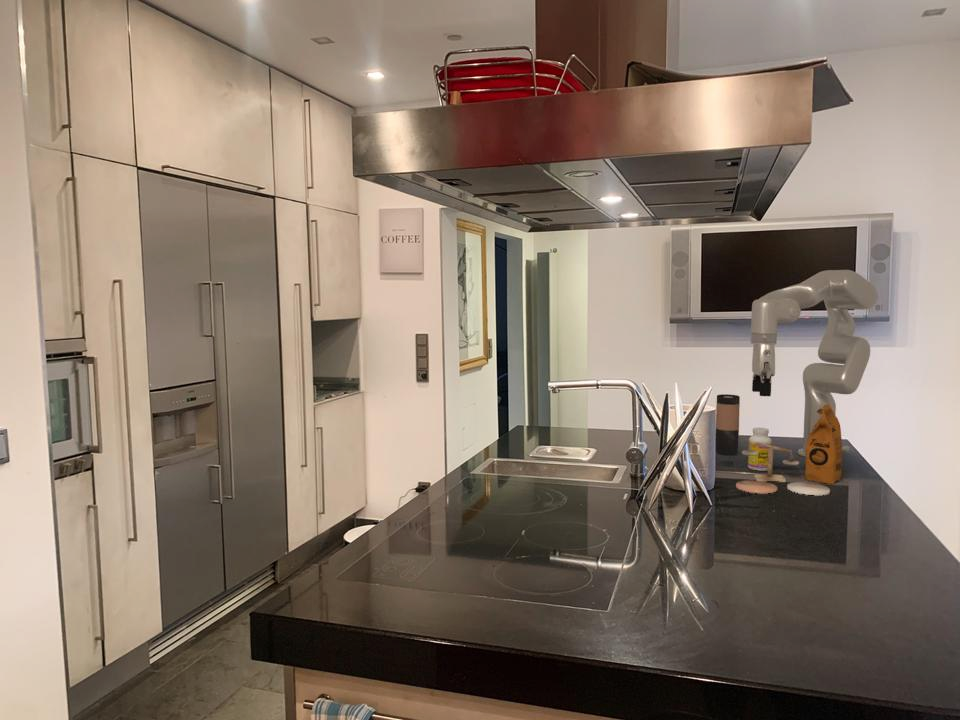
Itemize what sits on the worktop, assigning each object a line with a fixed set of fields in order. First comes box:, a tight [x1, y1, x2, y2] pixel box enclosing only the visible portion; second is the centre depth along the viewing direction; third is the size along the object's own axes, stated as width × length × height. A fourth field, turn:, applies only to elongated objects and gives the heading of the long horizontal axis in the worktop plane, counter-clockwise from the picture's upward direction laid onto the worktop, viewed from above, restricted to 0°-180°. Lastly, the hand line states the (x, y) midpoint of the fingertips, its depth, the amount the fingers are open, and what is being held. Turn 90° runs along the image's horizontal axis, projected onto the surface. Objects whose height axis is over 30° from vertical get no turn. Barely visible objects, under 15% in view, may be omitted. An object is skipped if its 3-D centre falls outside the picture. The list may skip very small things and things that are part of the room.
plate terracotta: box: [735, 480, 778, 495], centre depth 203 cm, size 11×11×1 cm
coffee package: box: [804, 404, 843, 485], centre depth 212 cm, size 10×12×22 cm
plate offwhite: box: [786, 481, 831, 497], centre depth 201 cm, size 11×11×1 cm
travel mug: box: [715, 394, 741, 456], centre depth 245 cm, size 8×8×20 cm
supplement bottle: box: [747, 427, 772, 472], centre depth 224 cm, size 7×7×13 cm
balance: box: [741, 441, 800, 483], centre depth 211 cm, size 16×4×12 cm, turn 82°
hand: (761, 393), depth 222 cm, fingers open, 9 cm apart
